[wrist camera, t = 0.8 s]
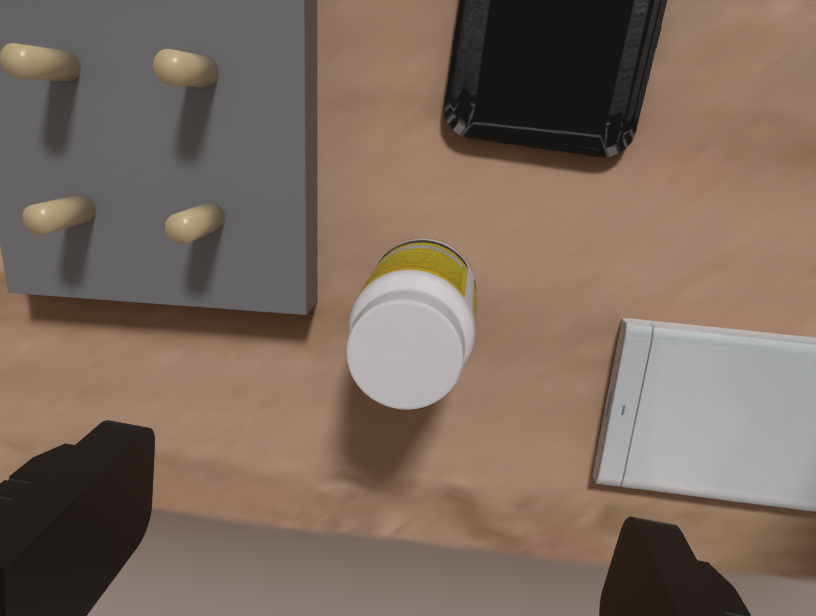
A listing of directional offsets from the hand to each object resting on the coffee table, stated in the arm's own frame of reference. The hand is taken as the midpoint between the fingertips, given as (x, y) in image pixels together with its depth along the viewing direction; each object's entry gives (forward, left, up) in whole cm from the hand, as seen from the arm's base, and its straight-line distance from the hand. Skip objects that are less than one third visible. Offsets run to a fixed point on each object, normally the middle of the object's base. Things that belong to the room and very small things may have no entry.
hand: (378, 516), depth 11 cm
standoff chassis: (+13, -5, -19) cm, 23 cm away
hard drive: (-14, +6, -20) cm, 25 cm away
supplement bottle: (+1, +1, -19) cm, 19 cm away
